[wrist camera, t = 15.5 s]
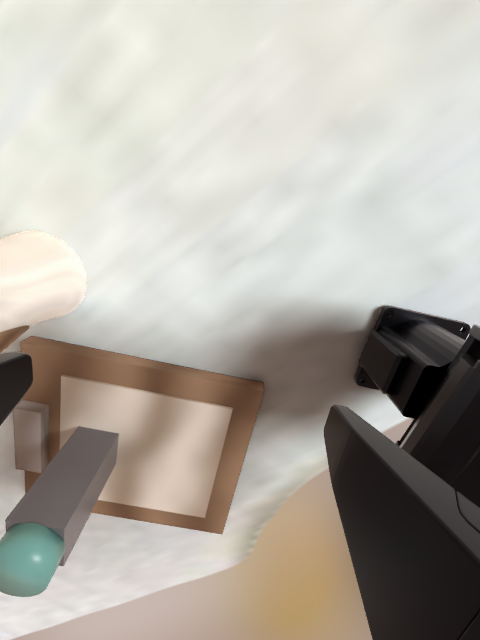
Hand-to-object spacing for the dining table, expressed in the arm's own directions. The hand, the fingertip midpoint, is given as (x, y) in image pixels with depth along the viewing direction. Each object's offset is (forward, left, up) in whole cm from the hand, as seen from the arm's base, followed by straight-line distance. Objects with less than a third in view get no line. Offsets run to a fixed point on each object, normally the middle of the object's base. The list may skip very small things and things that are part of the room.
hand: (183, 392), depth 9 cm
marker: (+7, +15, -12) cm, 20 cm away
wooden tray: (+4, +15, -13) cm, 20 cm away
